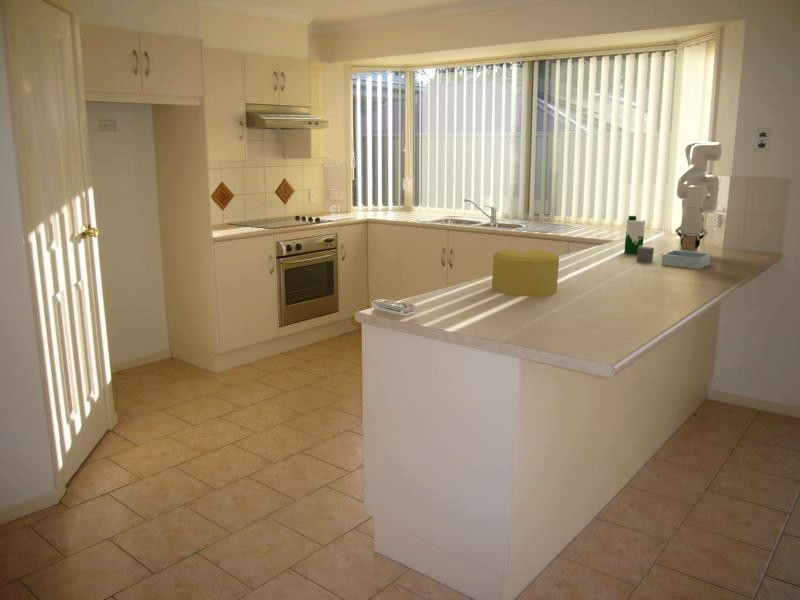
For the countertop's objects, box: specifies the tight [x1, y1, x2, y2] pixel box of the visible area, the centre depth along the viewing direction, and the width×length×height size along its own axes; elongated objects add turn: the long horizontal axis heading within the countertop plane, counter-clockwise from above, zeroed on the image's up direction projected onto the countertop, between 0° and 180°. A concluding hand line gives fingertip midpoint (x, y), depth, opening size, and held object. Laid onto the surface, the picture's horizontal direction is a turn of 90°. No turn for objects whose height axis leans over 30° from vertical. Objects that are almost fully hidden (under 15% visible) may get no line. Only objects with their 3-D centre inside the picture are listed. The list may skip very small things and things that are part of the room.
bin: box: [661, 249, 711, 270], centre depth 341 cm, size 18×18×5 cm
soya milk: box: [623, 215, 646, 255], centre depth 374 cm, size 9×9×20 cm
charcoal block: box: [636, 246, 654, 264], centre depth 349 cm, size 6×6×7 cm
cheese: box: [491, 248, 560, 297], centre depth 277 cm, size 26×26×15 cm
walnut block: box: [681, 235, 698, 251], centre depth 342 cm, size 6×6×7 cm
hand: (689, 246), depth 343 cm, fingers closed on walnut block, 6 cm apart
